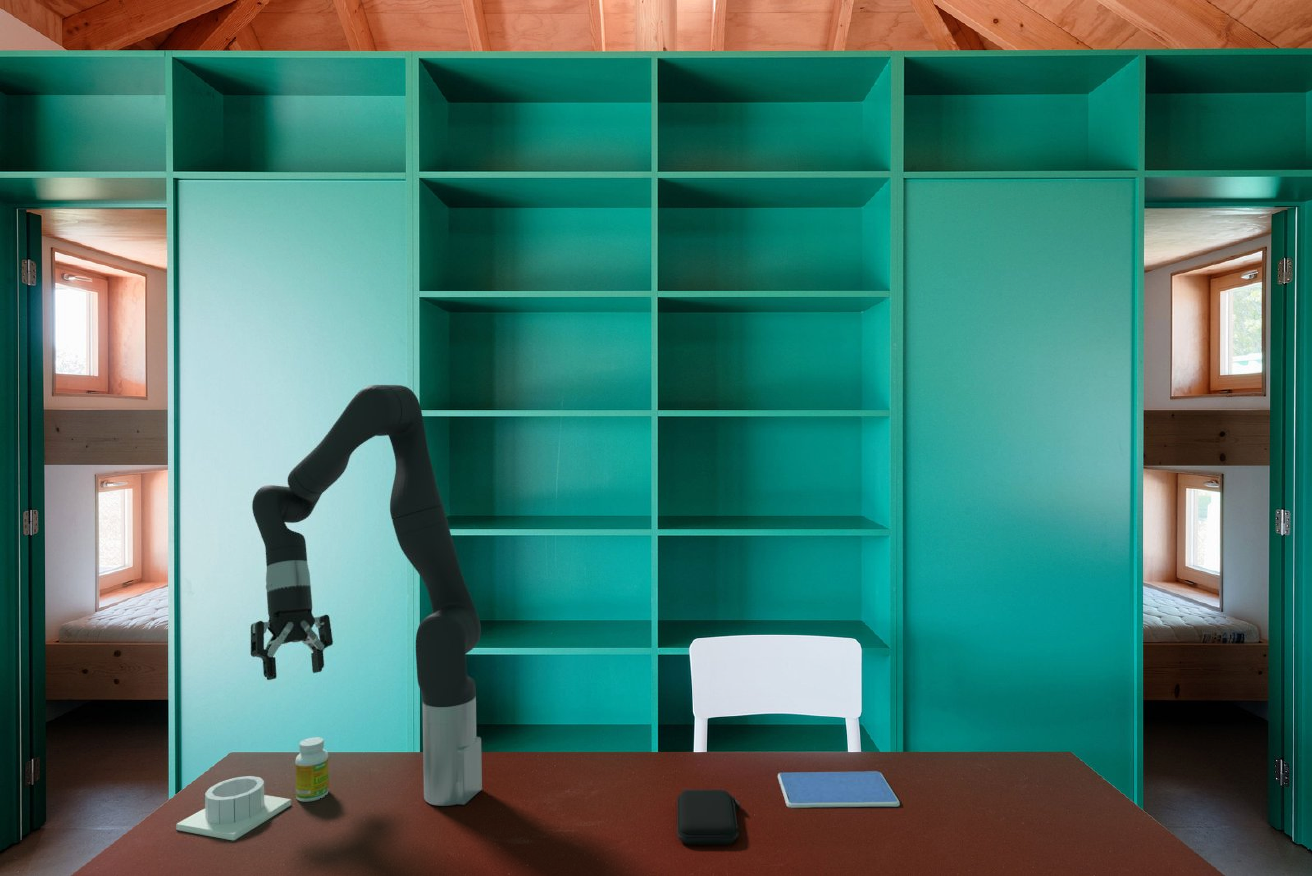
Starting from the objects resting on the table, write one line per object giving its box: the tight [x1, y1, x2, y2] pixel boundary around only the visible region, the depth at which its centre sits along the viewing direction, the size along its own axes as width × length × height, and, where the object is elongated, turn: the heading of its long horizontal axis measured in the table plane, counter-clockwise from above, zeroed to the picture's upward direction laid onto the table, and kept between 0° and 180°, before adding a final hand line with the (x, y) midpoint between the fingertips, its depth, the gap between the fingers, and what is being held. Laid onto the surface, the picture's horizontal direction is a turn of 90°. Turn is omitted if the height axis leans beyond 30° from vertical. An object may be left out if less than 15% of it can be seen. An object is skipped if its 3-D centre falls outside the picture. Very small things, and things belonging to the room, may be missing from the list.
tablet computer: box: [777, 770, 901, 809], centre depth 134 cm, size 19×13×1 cm, turn 89°
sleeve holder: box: [175, 775, 292, 842], centre depth 127 cm, size 12×12×5 cm
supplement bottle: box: [295, 736, 330, 803], centre depth 135 cm, size 5×5×10 cm
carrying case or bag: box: [676, 789, 742, 846], centre depth 123 cm, size 11×3×15 cm
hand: (295, 675), depth 138 cm, fingers open, 8 cm apart
